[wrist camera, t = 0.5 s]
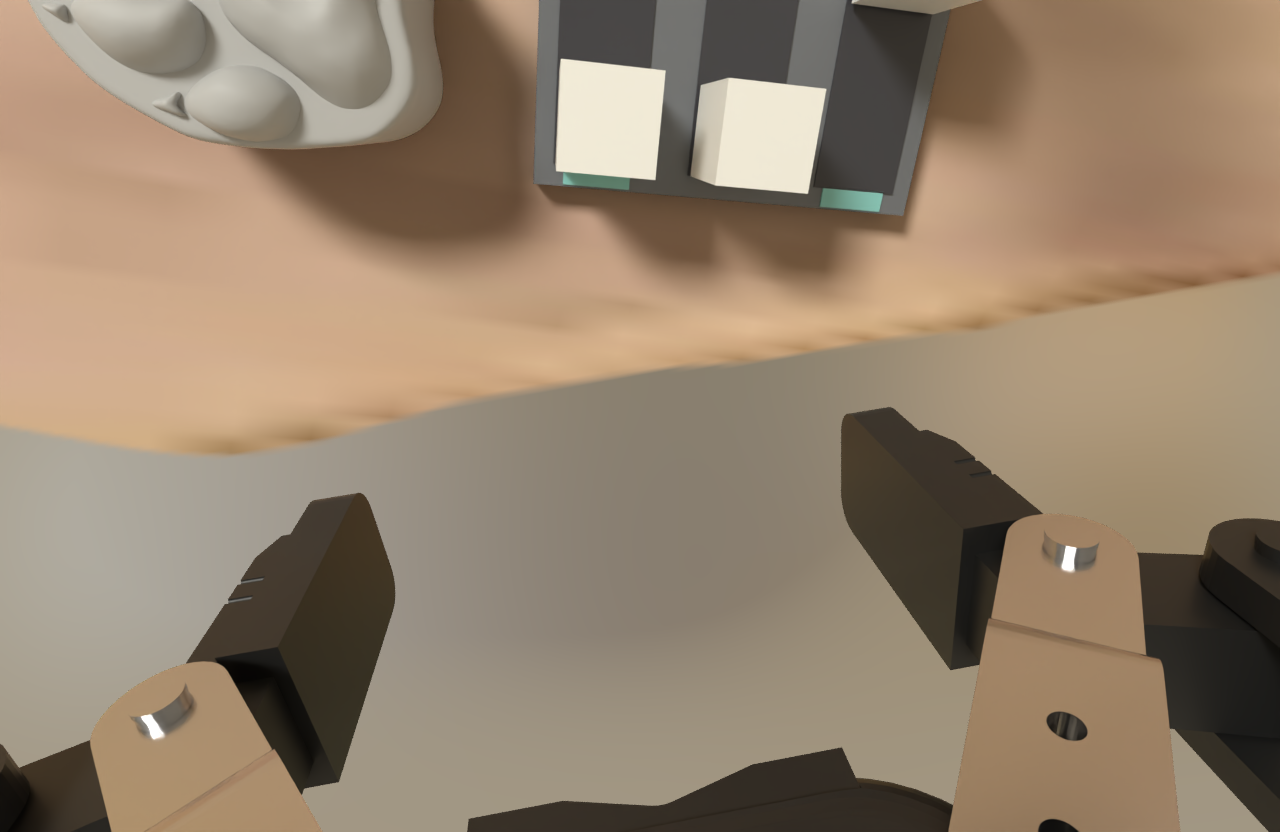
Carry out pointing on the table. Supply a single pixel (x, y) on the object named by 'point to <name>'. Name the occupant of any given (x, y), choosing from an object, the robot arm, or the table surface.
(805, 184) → the tab middle
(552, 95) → the switch bank
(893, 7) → the tab
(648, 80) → the tab
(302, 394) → the table surface
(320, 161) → the table surface
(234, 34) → the paw print plaque
